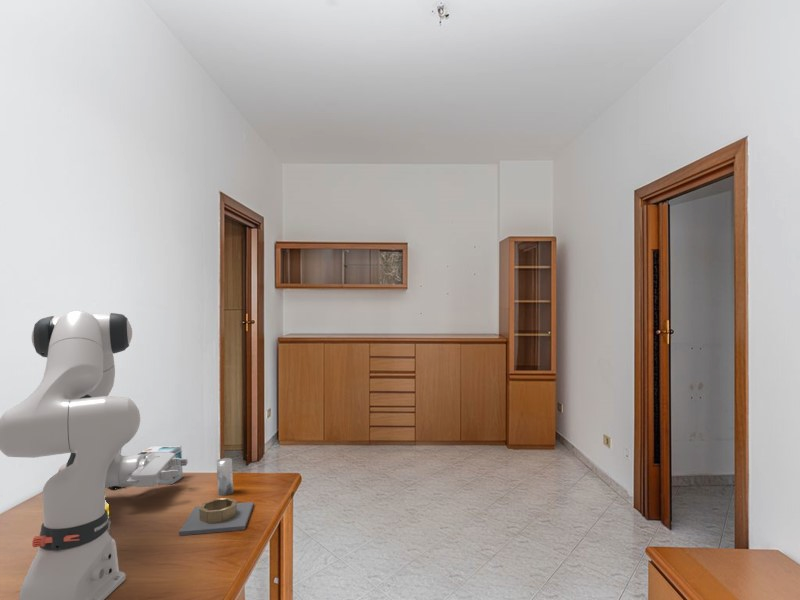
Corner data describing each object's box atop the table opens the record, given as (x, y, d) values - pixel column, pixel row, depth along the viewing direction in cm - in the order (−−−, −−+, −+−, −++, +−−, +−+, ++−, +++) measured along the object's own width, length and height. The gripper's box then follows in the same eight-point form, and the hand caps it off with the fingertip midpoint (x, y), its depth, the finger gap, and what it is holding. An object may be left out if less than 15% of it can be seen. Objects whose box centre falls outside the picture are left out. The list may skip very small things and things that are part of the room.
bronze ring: (232, 521, 138) (232, 509, 138) (197, 524, 137) (196, 512, 137) (238, 507, 147) (238, 497, 147) (205, 510, 146) (204, 499, 146)
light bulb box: (183, 477, 177) (182, 445, 177) (172, 484, 171) (171, 451, 171) (153, 477, 178) (151, 445, 178) (141, 484, 172) (140, 451, 172)
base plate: (244, 529, 135) (244, 525, 135) (179, 535, 133) (179, 531, 133) (253, 505, 151) (253, 501, 151) (195, 510, 149) (195, 506, 149)
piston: (231, 494, 160) (230, 461, 160) (216, 496, 159) (215, 463, 159) (234, 489, 164) (233, 457, 164) (219, 490, 164) (218, 458, 164)
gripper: (120, 472, 148) (172, 468, 150) (145, 449, 168) (191, 446, 170) (121, 494, 148) (173, 490, 150) (146, 469, 169) (191, 466, 170)
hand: (183, 467), depth 160 cm, fingers open, 8 cm apart
